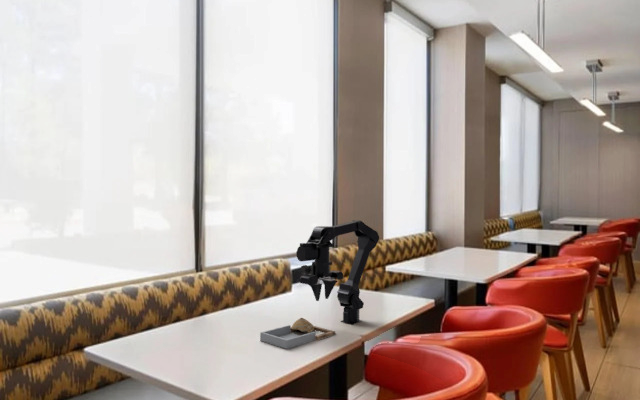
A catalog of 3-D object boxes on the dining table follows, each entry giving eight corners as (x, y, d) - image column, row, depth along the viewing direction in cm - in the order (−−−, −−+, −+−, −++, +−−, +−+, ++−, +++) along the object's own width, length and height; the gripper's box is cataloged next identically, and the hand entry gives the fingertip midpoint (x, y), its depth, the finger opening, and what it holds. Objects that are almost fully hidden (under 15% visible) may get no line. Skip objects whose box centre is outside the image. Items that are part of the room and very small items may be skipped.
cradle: (304, 327, 194) (304, 323, 194) (335, 335, 182) (335, 331, 182) (286, 332, 187) (286, 328, 187) (317, 341, 176) (317, 336, 176)
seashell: (304, 332, 180) (292, 316, 185) (298, 342, 183) (287, 327, 187) (320, 327, 186) (308, 312, 190) (315, 337, 188) (303, 322, 193)
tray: (289, 332, 186) (289, 325, 186) (315, 340, 176) (315, 332, 176) (260, 340, 176) (260, 332, 176) (286, 349, 166) (286, 340, 166)
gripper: (323, 255, 201) (323, 293, 201) (289, 259, 188) (290, 300, 188) (343, 257, 193) (344, 297, 194) (310, 262, 180) (310, 304, 180)
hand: (322, 299), depth 189 cm, fingers open, 5 cm apart
